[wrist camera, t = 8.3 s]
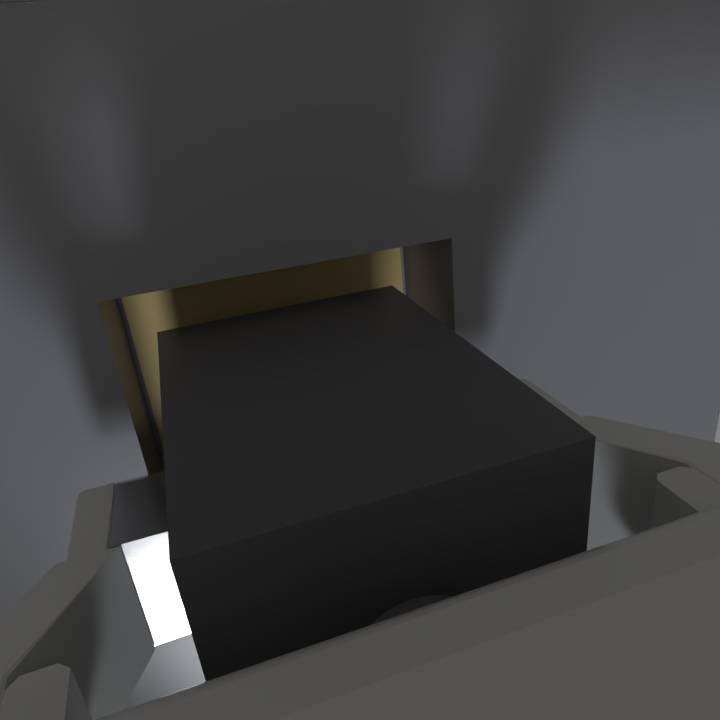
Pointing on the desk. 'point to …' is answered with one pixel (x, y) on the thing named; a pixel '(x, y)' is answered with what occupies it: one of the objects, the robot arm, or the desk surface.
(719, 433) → the desk surface
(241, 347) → the plug
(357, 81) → the socket plate
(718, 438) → the desk surface
